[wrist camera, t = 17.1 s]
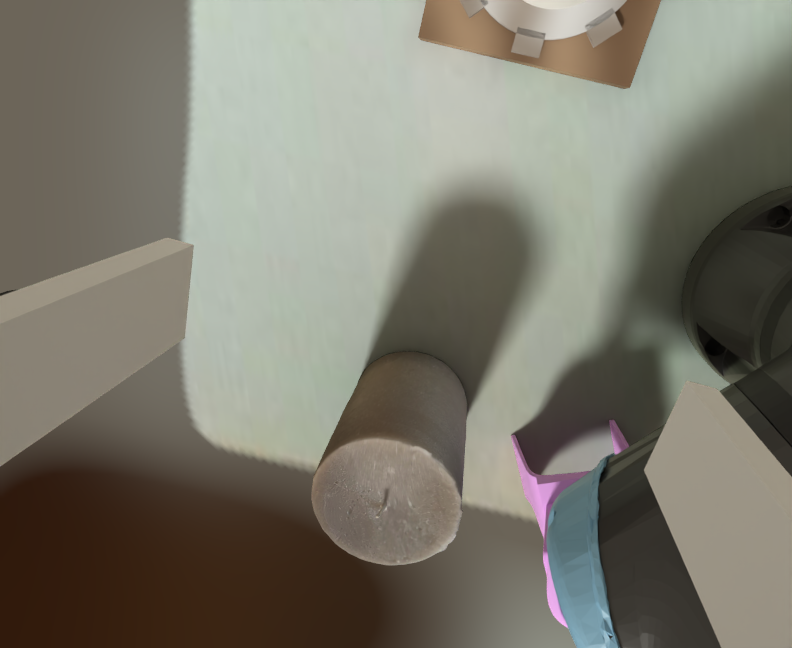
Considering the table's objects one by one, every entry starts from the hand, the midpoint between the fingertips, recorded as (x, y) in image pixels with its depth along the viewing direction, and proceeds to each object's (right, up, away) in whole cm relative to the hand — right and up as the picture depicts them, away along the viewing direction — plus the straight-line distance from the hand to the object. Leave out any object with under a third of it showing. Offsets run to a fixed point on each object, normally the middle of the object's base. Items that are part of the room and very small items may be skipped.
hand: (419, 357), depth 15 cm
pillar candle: (+1, -6, +33) cm, 34 cm away
